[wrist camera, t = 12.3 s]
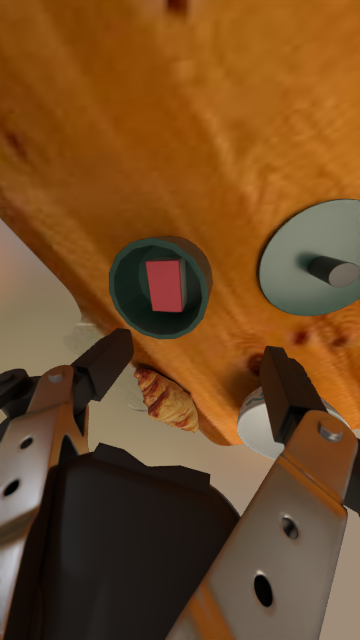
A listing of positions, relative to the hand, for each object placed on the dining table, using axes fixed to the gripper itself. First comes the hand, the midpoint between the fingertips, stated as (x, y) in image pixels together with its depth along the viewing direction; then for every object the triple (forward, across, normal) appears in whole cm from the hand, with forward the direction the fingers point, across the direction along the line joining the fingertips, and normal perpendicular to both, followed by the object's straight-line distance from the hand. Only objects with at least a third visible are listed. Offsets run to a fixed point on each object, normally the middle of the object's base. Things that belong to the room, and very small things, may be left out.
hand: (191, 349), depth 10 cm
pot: (+18, +6, 0) cm, 19 cm away
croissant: (+18, +8, +27) cm, 34 cm away
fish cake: (+17, +6, 0) cm, 18 cm away
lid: (+17, -13, -2) cm, 21 cm away
